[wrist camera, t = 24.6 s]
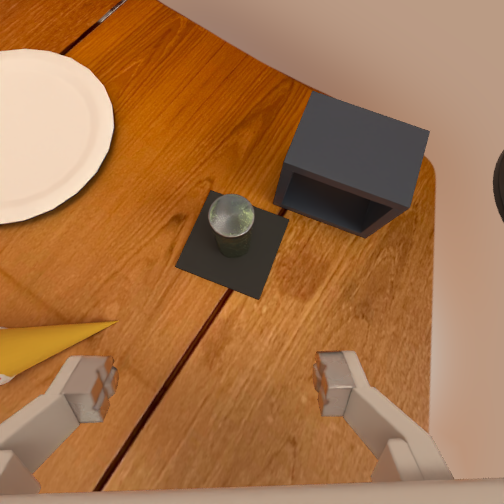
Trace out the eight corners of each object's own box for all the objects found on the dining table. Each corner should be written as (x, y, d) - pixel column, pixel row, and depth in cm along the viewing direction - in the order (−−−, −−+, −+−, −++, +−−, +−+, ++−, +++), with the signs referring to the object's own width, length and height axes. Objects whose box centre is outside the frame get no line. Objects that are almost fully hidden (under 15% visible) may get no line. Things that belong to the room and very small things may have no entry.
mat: (288, 220, 41) (289, 219, 40) (258, 299, 38) (259, 299, 37) (211, 191, 41) (210, 190, 41) (175, 267, 38) (174, 266, 38)
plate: (111, 224, 39) (106, 220, 38) (-111, 233, 38) (-127, 229, 36) (123, 56, 47) (119, 46, 45) (-64, 58, 45) (-76, 48, 44)
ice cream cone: (125, 330, 40) (-55, 384, 34) (113, 290, 38) (-81, 338, 32) (125, 355, 35) (-91, 426, 28) (111, 310, 33) (-126, 374, 26)
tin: (256, 232, 40) (261, 203, 30) (243, 264, 38) (244, 244, 29) (224, 220, 40) (219, 187, 30) (211, 251, 39) (200, 227, 29)
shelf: (383, 179, 43) (430, 131, 32) (365, 238, 40) (410, 207, 30) (295, 147, 44) (312, 90, 33) (272, 204, 41) (283, 162, 30)
